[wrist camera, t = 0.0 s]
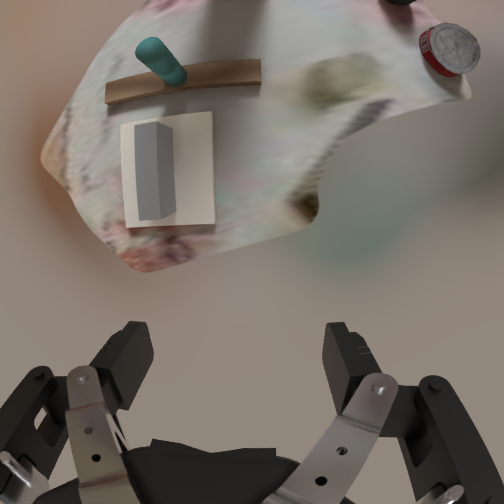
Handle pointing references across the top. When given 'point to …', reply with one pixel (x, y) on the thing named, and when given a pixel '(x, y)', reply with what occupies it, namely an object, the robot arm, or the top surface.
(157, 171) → the ridge stand
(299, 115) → the top surface
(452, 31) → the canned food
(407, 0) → the mate gourd
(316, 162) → the top surface
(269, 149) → the top surface
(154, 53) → the teal peg on base
